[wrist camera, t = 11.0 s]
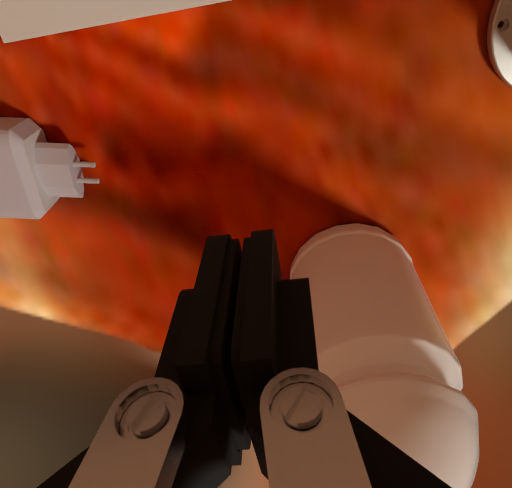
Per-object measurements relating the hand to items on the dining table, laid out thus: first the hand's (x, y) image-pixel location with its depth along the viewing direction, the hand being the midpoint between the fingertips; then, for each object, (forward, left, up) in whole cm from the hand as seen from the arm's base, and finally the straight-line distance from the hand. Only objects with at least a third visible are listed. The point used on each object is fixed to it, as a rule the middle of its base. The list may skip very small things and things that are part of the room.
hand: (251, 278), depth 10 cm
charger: (+25, +6, -30) cm, 39 cm away
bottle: (-6, +24, -29) cm, 38 cm away
